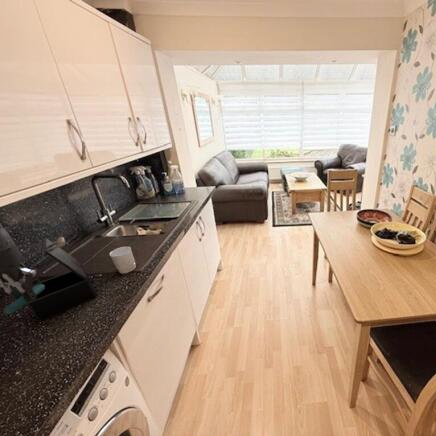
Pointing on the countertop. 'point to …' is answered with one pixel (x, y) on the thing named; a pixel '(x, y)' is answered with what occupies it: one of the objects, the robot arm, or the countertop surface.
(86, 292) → the bin
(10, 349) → the countertop surface
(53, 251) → the bin lid
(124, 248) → the white cup
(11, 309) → the teal rod
